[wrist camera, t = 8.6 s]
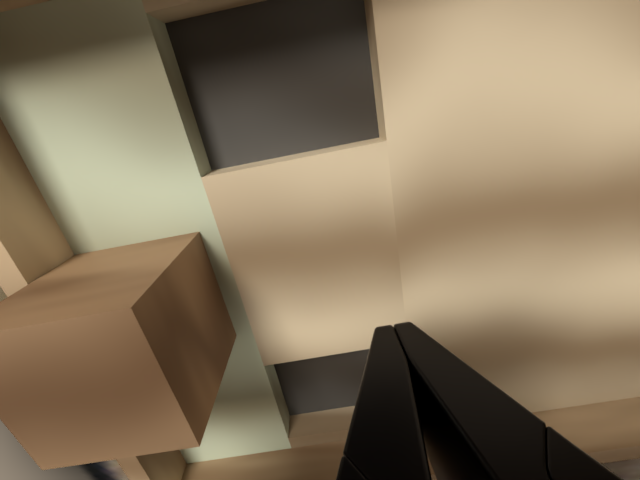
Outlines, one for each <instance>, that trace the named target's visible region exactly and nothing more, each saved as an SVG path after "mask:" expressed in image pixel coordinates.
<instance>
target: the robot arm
mask: <svg viewBox="0 0 640 480" xmlns="http://www.w3.org/2000/svg"><path fill="white" fill-rule="evenodd" d="M427 456H428V458H429V461H430V463H431V466H432V468H433V471H434V473H435V476H436V478H437V480H624V479H622V478H621V477H619V476H618V475H616V474H615V473H613V472H612V471H610V470H609V469H608V468H606V467H605V466H604V465H602V464H601V463H599V462H598V461H597V460H595V459H594V458H592V457H591V456H590V455H588V454H587V453H586V452H584V451H583V450H581V449H580V448H579V447H577V446H576V445H574V444H573V443H572V442H570V441H569V440H568V439H566V438H565V437H564V436H562V435H561V434H560V433H558V432H557V431H556V430H554V429H553V428H552V427H550V426H548V427H546V424H545V422H543V421H542V420H541V419H539V418H538V417H537V416H535V415H534V414H533V413H531V412H530V411H529V410H527V409H526V408H525V407H524V406H522V405H521V404H520V403H518V402H517V401H516V400H514V399H513V398H512V397H510V396H509V395H508V394H506V393H505V392H504V391H502V390H501V389H500V388H498V387H497V386H496V385H494V384H493V383H492V382H490V381H489V380H488V379H486V378H485V377H484V376H482V375H481V374H480V373H478V372H477V371H476V370H474V369H473V368H472V367H470V366H469V365H468V364H466V363H465V362H464V361H462V360H461V359H460V358H458V357H457V356H456V355H454V354H453V353H452V352H450V351H449V350H448V349H446V348H445V347H444V346H442V345H441V344H440V343H438V342H437V341H436V340H434V339H433V338H432V337H430V336H429V335H428V334H426V333H425V332H424V331H422V330H421V329H420V328H418V327H417V326H416V325H414V324H413V323H412V322H403V323H397V324H394V326H392V325H385V326H379V327H376V328H375V330H374V333H373V337H372V341H371V345H370V349H369V353H368V357H367V361H366V365H365V369H364V372H363V376H362V380H361V384H360V388H359V392H358V396H357V400H356V404H355V408H354V411H353V415H352V419H351V423H350V427H349V431H348V435H347V439H346V443H345V447H344V450H343V456H342V458H341V461H340V465H339V469H338V473H337V477H336V480H432V478H431V473H430V468H429V463H428V458H427Z"/></svg>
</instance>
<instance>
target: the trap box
mask: <svg viewBox="0 0 640 480" xmlns="http://www.w3.org/2000/svg"><path fill="white" fill-rule="evenodd" d="M194 232H200V235H201V237H202V240H203V243H204V246H205V249H206V251H207V254H208V257H209V260H210V263H211V265H212V268H213V271H214V274H215V276H216V279H217V282H218V285H219V288H220V290H221V293H222V296H223V299H224V302H225V304H226V307H227V310H228V313H229V315H230V318H231V321H232V324H233V327H234V329H235V332H236V335H237V336H236V339H235V342H234V345H233V348H232V351H231V354H230V357H229V360H228V363H227V366H226V369H225V372H224V375H223V378H222V381H221V384H220V387H219V390H218V393H217V396H216V399H215V402H214V405H213V408H212V411H211V414H210V417H209V420H208V423H207V426H206V429H205V432H204V435H203V438H202V441H201V444H200V447H194V448H187V449H181V450H174V451H167V452H161V453H154V454H147V455H141V456H134V457H127V458H120V459H116V460H117V462H118V463H119V465H120V466H121V468H122V469H123V471H124V472H125V474H126V475H127V477H128V478H129V480H336V477H337V473H338V469H339V465H340V461H341V458H342V456H343V450H344V447H345V443H346V439H347V435H348V431H349V427H350V423H351V419H352V415H353V411H354V408H355V404H356V400H357V396H358V392H359V388H360V384H361V380H362V376H363V372H364V369H365V365H366V361H367V357H368V353H369V349H370V345H371V341H372V337H373V333H374V330H375V328H376V327H379V326H385V325H392V326H394V324H397V323H403V322H412V323H413V324H414V325H416V326H417V327H418V328H420V329H421V330H422V331H424V332H425V333H426V334H428V335H429V336H430V337H432V338H433V339H434V340H436V341H437V342H438V343H440V344H441V345H442V346H444V347H445V348H446V349H448V350H449V351H450V352H452V353H453V354H454V355H456V356H457V357H458V358H460V359H461V360H462V361H464V362H465V363H466V364H468V365H469V366H470V367H472V368H473V369H474V370H476V371H477V372H478V373H480V374H481V375H482V376H484V377H485V378H486V379H488V380H489V381H490V382H492V383H493V384H494V385H496V386H497V387H498V388H500V389H501V390H502V391H504V392H505V393H506V394H508V395H509V396H510V397H512V398H513V399H514V400H516V401H517V402H518V403H520V404H521V405H522V406H524V407H525V408H526V409H527V410H529V411H530V412H531V413H533V414H534V415H535V416H537V417H538V418H539V419H541V420H542V421H543V422H545V424H546V427H548V426H550V427H552V428H553V429H554V430H556V431H557V432H558V433H560V434H561V435H562V436H564V437H565V438H566V439H568V440H569V441H570V442H572V443H573V444H574V445H576V446H577V447H579V448H580V449H581V450H583V451H584V452H586V453H587V454H588V455H590V456H591V457H592V458H594V459H595V460H597V461H598V462H599V463H601V464H602V463H609V462H616V461H623V460H630V459H638V458H640V0H0V286H1V288H2V289H3V291H4V292H5V294H6V295H7V297H9V296H11V295H12V294H14V293H15V292H17V291H19V290H20V289H22V288H23V287H25V286H26V285H28V284H30V283H31V282H33V281H34V280H36V279H38V278H39V277H41V276H42V275H44V274H46V273H47V272H49V271H50V270H52V269H54V268H55V267H57V266H58V265H60V264H62V263H63V262H65V261H66V260H68V259H69V258H71V257H73V256H74V255H76V254H82V253H87V252H92V251H98V250H103V249H108V248H114V247H119V246H125V245H130V244H135V243H141V242H146V241H151V240H157V239H162V238H167V237H173V236H178V235H184V234H189V233H194ZM427 458H428V456H427ZM428 463H429V468H430V473H431V478H432V480H437V478H436V476H435V473H434V471H433V468H432V466H431V463H430V461H429V458H428Z"/></svg>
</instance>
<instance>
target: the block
mask: <svg viewBox="0 0 640 480" xmlns="http://www.w3.org/2000/svg"><path fill="white" fill-rule="evenodd" d="M236 336H237V335H236V332H235V329H234V327H233V324H232V321H231V318H230V315H229V313H228V310H227V307H226V304H225V302H224V299H223V296H222V293H221V290H220V288H219V285H218V282H217V279H216V276H215V274H214V271H213V268H212V265H211V263H210V260H209V257H208V254H207V251H206V249H205V246H204V243H203V240H202V237H201V235H200V232H194V233H189V234H184V235H178V236H173V237H167V238H162V239H157V240H151V241H146V242H141V243H135V244H130V245H125V246H119V247H114V248H108V249H103V250H98V251H92V252H87V253H82V254H76V255H74V256H73V257H71V258H69V259H68V260H66V261H65V262H63V263H62V264H60V265H58V266H57V267H55V268H54V269H52V270H50V271H49V272H47V273H46V274H44V275H42V276H41V277H39V278H38V279H36V280H34V281H33V282H31V283H30V284H28V285H26V286H25V287H23V288H22V289H20V290H19V291H17V292H15V293H14V294H12V295H11V296H9V297H7V298H6V299H4V300H3V301H1V302H0V419H1V421H2V422H3V423H4V424H5V426H6V427H7V428H8V429H9V430H10V432H11V433H12V434H13V435H14V437H15V438H16V439H17V440H18V441H19V443H20V444H21V445H22V446H23V447H24V449H25V450H26V451H27V453H28V454H29V455H30V456H31V457H32V458H33V460H34V461H35V462H36V464H37V465H38V466H39V467H40V468H41V470H46V469H54V468H60V467H67V466H74V465H80V464H87V463H94V462H100V461H107V460H114V459H120V458H127V457H134V456H141V455H147V454H154V453H161V452H167V451H174V450H181V449H187V448H194V447H200V444H201V441H202V438H203V435H204V432H205V429H206V426H207V423H208V420H209V417H210V414H211V411H212V408H213V405H214V402H215V399H216V396H217V393H218V390H219V387H220V384H221V381H222V378H223V375H224V372H225V369H226V366H227V363H228V360H229V357H230V354H231V351H232V348H233V345H234V342H235V339H236Z"/></svg>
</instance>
